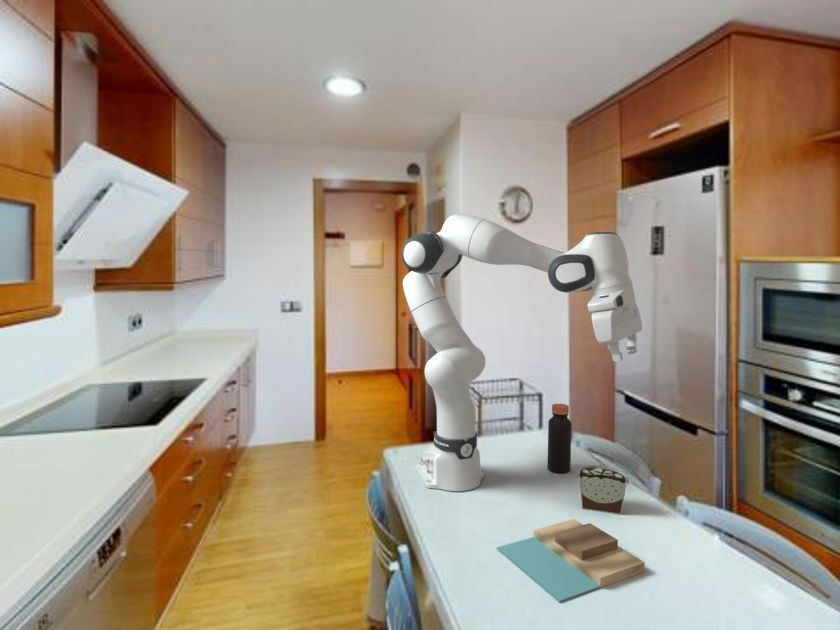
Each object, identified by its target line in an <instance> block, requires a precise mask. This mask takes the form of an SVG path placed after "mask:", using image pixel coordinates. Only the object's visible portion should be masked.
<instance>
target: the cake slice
mask: <svg viewBox="0 0 840 630" xmlns="http://www.w3.org/2000/svg"><path fill="white" fill-rule="evenodd" d="M576 476H577V477H576V479H578V478H579V486H580V487H579V489H580V501H581V509H582V510H585V511H586V510H587V511H591V510H592V512H598V513H604V514H605V513H607V514H612V515H620V516H621V515H622V514H623V513H622V512H623V508H624V507H623V506H624V501H625V495H626V487H627V484H628V486H629V484H630V482H629V478H628V476H627V473H625V472H623V471H622V470H620V469H618V468H616V467H615V468H614V467H612V466H607V465H600V464H598V465H597V464H594V465H593V464H591V465H590V464H589V465H585V466H583V467H580V468H579V470H578V473H577V475H576Z"/></svg>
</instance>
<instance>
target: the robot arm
mask: <svg viewBox="0 0 840 630" xmlns="http://www.w3.org/2000/svg"><path fill="white" fill-rule="evenodd" d="M400 252H401V257H400V258H401V261H402V263H403V264H404V266H405V267H406V268H407V269H408V270H409V272H408V273H407V274H406V275H405V276H404V278H403V279H402V287H403V289H402V290H403V292H404V297H405V299H406V302H407V306H408V308H409V310H410V312H411V313H410V314H411V315H412V317H413V321H414V323H415V324H416V327H417V329H418V331H419V333H420V335H421V337H422V338H423V339H424V340H425V341H426V342H427V343H428V344H430V345H431V346H432V347H433V349H434V350H435V351H436V353H435V354H434V355H433V356H432V357H431V358H430V359H429V360H428V361H427V362H426V364H425V367H424V377H425V381H426V382H427V384H428V385H429V386H430V387H431V390H432V391H433V396H434V401H435V407H436V431H434V433H433V436H434V438H433V443H432V444H431V445H430V446H428V447H427V448H426V449H425V450H423V452H422V457H421V458H420V463H417V464H415V465H414V467H413V468H414V471H415V473H416V474H417V476H418V477H419V479H420V480H421V481H422V484H423V485H424V486H425V487H426V488H428V489H437V490H438V489H439V490H444V491H448V492H449V491H450V492H465V491H470V490H474V489H476V488H478V487H479V486H480V485H481V483H482V481H481V480H483V478H484V477H485V473H484V472H483V471H481V470H482V469H481V468H482V467H481V455H480V454H481V453H480V450H479V449H478V448H477V446H478V435H477V432H476V416H477V415H476V408H477V407H476V405H475V404H474V403H473V401H472V397H471V391H470V382H473V381H475V380H476V379H478V378H479V377H480V375H481V374H482V372H483V371H484V369H485V367H486V357H485V354H484V352H483V351H482V349H480V348H479V347H478V346H476V345H475V344H474V343H473V341H472V340H471V339H470V337H469V336H468V334H467V333H466V332H465V330H464V329H463V328H462V326H461V325H460V323H459V320H458V319H457V318H456V315H455V313H454V311H453V309H452V307H451V304H450V302H449V300H448V299H447V296H446V294H445V291H444V290H443V288H442V284H441V279H443V278H447V277H448V275H449V274H451V272H452V271H453V270H454V269H455V268H457V267H458V265H460V263H461V261H462V259H463V256H464V257H466V258H469V259H470V260H471V259H472V260H473V261H477V262H480V263H484V264H489V265H494V266H495V265H496V266H499V265H501V266H505V265H508V266H509V265H511V266H512V265H517V266H525V267H526V266H527V267H530V268H533V269H536V270H539V271H542V272H545V273H547V278H548V281H549V283H550V285H551V287H553V289H555V290H556V291H559V292H561V293H566V294H567V293H568V294H572V293H578V292H587V291H591V290H592V294H593V295H592V297H591V299H590V300H589V302H588V303H587V310H588V312H589V313H592V314H591V324H592V327H593V331H594V336H595V339H596V341H597V342H598V344H599V345H601V346H603V345H607V348H608V349H607V350H608V351H609V352H610V354H611V357H612V361H613V362H621V361H623V359H624V357H623V352H621V350H620V343H619V342H620V341H622V340H624V339H626V343H627V344H626V345H627V346H626V351H627V354H628V355H635V354H636V353H637V352H638V349H637V341H638V339H637V338H638V337H637V333H640V332H642V331H643V322H642V318H641V313H640V310H639V307H638V304H637V303H636V296H635V295H636V294H635V292H634V290H635V289H634V286H633V281H632V279H631V277H630V274H629V260H628V259H629V258H628V256H627V251H626V248H625V244H624V241H623V239H622V237H621V236H620V235H619V234H617V233H615V232H614V231H598V232H597V231H595V232H591V233H588V234H585V236H584V238H583V239H582V240H581V241H580V242H579V243H577V245H575V246H574V247H572V248H571V249H569V250H568V251H566V252H563V251H560V250H557V249H555V248H550V247H547V246H544V245H541V244H538V243H535V242H533V241H531V240H529V239H527V238H525V237H524V236H521V235H519V234H517V233H516V232H513V231H512V230H510V229H508V228H506V227H504V226H502V225H501V224H498V223H496V222H493V221H491V220H489V219H486V218H482V217H478V216H475V215H471V214H462V213H455V214H451V215H450V216H449V217H448V218H446V220H445V221H444V223H443V225H442V227H441V229H440V231H438V232H435V231H433V230H432V231H427V232H423V233H419V234H416V235H413V236H412V237H409V238H408V239H407V240H406V241H405V242H404V243H403V245H402V248H401V251H400Z"/></svg>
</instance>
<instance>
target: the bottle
mask: <svg viewBox="0 0 840 630" xmlns="http://www.w3.org/2000/svg"><path fill="white" fill-rule="evenodd" d="M569 410H570V406H569V405H568V404H565V403H553V404H552V405H551V414H552V417H550V419H548V422H547V423H548V426H547V428H548V431H547V434H548V435H547V470H548V471H550V472H551V473H554V474H569V472H570V471H571V464H572V463H571V461H572V459H571V457H572V455H571V454H572V426H573V423H572V421H571V419H569V417H568V416H569V414H570V413H569V412H570V411H569Z"/></svg>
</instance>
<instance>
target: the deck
mask: <svg viewBox="0 0 840 630" xmlns="http://www.w3.org/2000/svg"><path fill="white" fill-rule="evenodd" d="M581 525H584V524H583V523H581V521H578V520H577V519H574V518H573V519H568V520H565V521H562V522H559V523H555V524H551V525H547V526H544V527H541V528H536V529H533V530H532V531H533V536H532V537H534V538H535V539H537V540H538V541H540V542H541V543H542V544H544V545H545V546H546V547H548V548H549V549H550V550H552V551H553V552H555V553H556V554H557V555H559V556H560V557H561V558H563V559H564V560H566V561H567V562H568V563H570V564H571V565H572V566H574V567H575V568H576V569H578V570H579V571H581V572H582V573H583V574H585V575H586V576H587V577H589V578H590V579H592V580H593V581H594V582H596V583H597V584H598V585H600V588H599V589H601V588H605V587H606V586H609V585H612V584H615V583H617V582H620V581H623V580H625V579H628V578H631V577H633V576H637V575H641V573H644V572H645V567H646V566H645V564H646V563H645V561H643V560H641V559H640V558H638V557H637V556H635V555H634V554H632V553H630V552H629V551H627V550H625V549H623V548H622V547H620V546H619V545H618V549H616V550H613V551H610V552H607V553H604V554H601V555H597V556H594V557H591V558H588V559H585V560H580V559H579V558H577V557H576V556H574V555H573V554H572V553H570V552H569V551H567V550H566V549H564V548H563V547H562V546H560V545H559V544H557V543H556V542H555V533H557V532H560V531H564V530H567V529H571V528H574V527H578V526H581Z"/></svg>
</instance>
